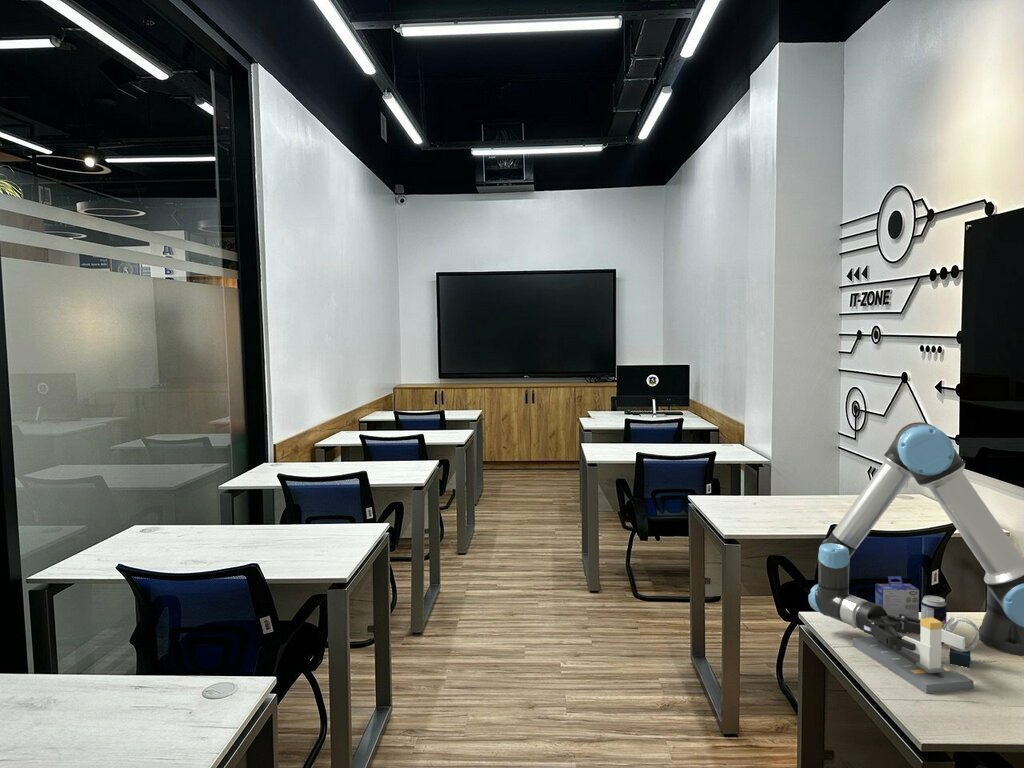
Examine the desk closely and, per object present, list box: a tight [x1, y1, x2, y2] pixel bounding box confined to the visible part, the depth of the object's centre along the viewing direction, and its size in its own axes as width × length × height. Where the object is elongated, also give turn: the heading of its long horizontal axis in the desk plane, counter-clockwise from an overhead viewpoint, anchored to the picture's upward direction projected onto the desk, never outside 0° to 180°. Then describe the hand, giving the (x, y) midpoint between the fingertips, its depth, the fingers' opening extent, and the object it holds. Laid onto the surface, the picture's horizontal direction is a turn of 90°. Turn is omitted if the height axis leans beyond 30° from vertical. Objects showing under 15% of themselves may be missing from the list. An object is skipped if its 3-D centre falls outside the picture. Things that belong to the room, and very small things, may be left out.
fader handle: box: [916, 617, 944, 673], centre depth 162 cm, size 4×4×12 cm
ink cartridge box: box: [874, 575, 920, 634], centre depth 192 cm, size 10×6×14 cm, turn 87°
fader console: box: [852, 636, 975, 694], centre depth 169 cm, size 12×26×2 cm, turn 9°
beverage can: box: [920, 594, 948, 647], centre depth 182 cm, size 6×6×12 cm
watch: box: [942, 616, 980, 669], centre depth 171 cm, size 6×8×11 cm
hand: (947, 648), depth 158 cm, fingers open, 11 cm apart
